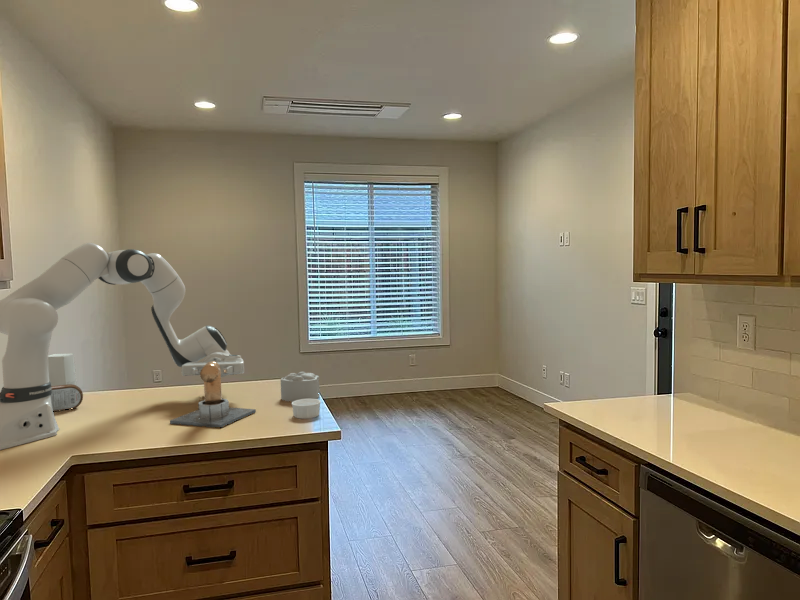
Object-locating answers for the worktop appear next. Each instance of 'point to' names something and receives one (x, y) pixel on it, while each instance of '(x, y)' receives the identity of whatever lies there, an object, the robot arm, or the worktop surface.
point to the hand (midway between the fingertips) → (210, 372)
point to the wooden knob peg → (212, 383)
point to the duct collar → (213, 415)
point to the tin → (66, 397)
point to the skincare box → (62, 369)
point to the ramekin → (306, 408)
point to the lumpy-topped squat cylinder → (299, 386)
